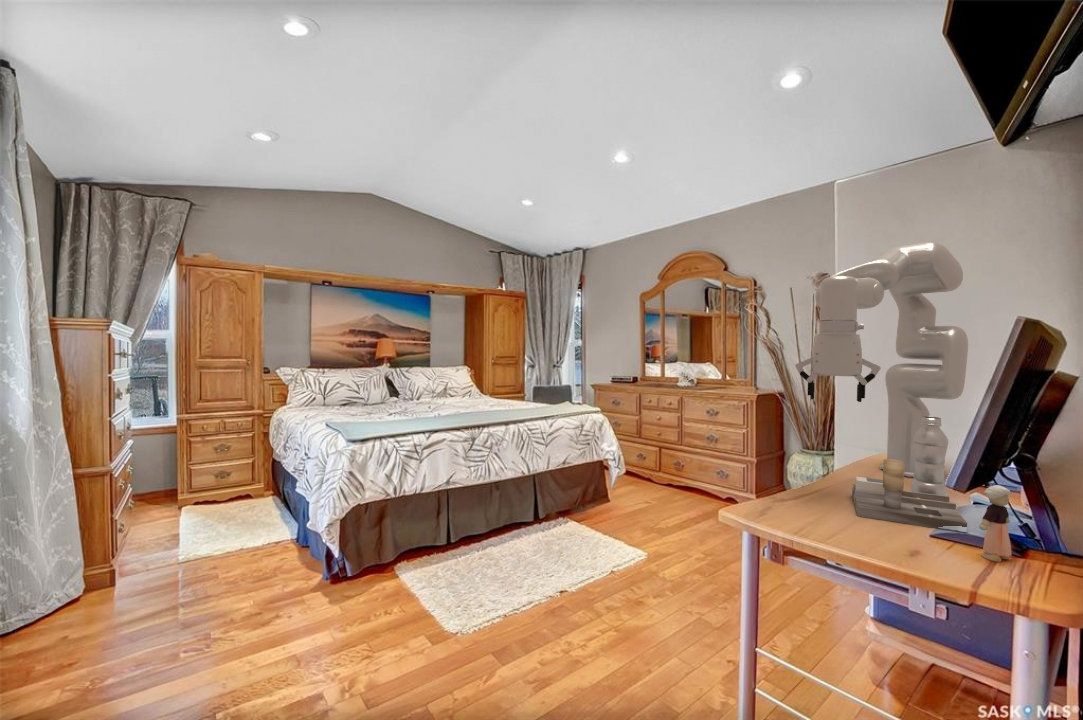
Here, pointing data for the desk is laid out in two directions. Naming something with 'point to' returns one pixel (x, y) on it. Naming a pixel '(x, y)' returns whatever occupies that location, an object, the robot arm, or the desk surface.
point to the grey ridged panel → (909, 509)
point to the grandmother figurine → (996, 525)
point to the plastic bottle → (930, 457)
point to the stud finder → (869, 485)
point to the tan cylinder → (893, 482)
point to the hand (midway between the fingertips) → (835, 400)
